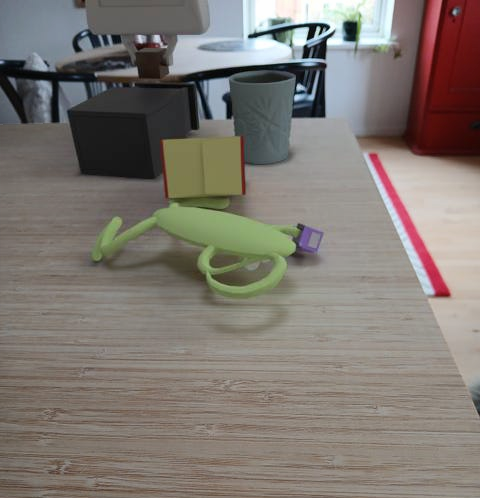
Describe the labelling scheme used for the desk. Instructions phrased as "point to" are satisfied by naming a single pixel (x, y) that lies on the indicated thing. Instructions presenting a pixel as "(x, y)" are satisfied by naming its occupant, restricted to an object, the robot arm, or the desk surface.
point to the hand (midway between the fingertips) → (153, 65)
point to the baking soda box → (203, 167)
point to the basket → (188, 100)
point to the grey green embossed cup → (263, 113)
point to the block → (151, 63)
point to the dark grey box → (126, 130)
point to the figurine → (219, 240)
